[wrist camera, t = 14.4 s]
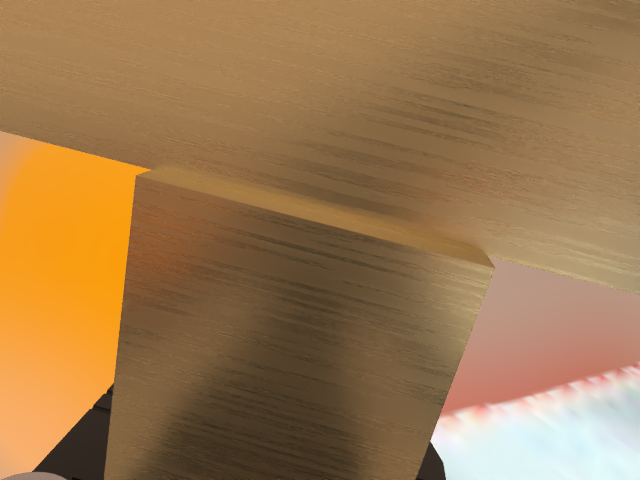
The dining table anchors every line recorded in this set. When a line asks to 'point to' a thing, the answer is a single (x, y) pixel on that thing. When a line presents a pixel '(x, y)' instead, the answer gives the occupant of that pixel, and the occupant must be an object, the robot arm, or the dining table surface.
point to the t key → (328, 204)
